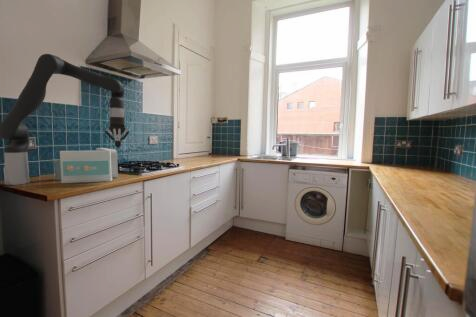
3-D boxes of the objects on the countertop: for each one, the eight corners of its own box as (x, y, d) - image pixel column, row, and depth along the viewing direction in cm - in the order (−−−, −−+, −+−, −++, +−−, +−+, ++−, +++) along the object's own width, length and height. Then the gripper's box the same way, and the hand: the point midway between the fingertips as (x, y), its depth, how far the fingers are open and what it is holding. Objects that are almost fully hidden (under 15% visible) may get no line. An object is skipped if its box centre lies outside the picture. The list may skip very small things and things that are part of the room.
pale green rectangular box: (55, 185, 127) (53, 152, 125) (64, 181, 139) (62, 150, 137) (108, 183, 135) (106, 151, 133) (112, 179, 147) (111, 150, 145)
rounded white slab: (121, 177, 155) (120, 149, 153) (108, 179, 149) (107, 150, 148) (108, 172, 175) (107, 147, 173) (96, 173, 170) (95, 147, 168)
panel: (63, 176, 129) (62, 161, 128) (64, 175, 130) (63, 161, 129) (109, 174, 135) (108, 160, 135) (109, 174, 137) (109, 160, 136)
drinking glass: (75, 177, 153) (74, 158, 152) (74, 179, 145) (73, 160, 144) (55, 178, 148) (54, 159, 147) (53, 181, 140) (52, 160, 138)
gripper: (102, 115, 129) (103, 148, 131) (129, 116, 133) (130, 147, 135) (105, 116, 136) (106, 147, 138) (130, 117, 140) (131, 147, 142)
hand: (118, 147), depth 136 cm, fingers closed
